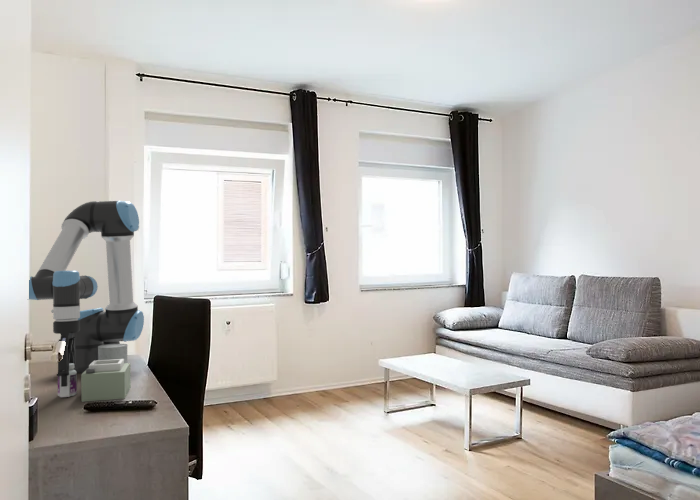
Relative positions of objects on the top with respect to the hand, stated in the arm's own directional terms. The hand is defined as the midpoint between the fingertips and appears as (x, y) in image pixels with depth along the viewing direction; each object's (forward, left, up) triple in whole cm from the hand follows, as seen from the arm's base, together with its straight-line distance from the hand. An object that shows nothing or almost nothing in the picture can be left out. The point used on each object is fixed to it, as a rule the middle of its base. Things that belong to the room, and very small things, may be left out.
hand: (67, 394), depth 181 cm
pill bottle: (0, 0, 0) cm, 1 cm away
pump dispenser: (-70, +2, 0) cm, 70 cm away
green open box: (+3, +12, 0) cm, 12 cm away
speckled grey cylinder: (-18, +11, 0) cm, 21 cm away
